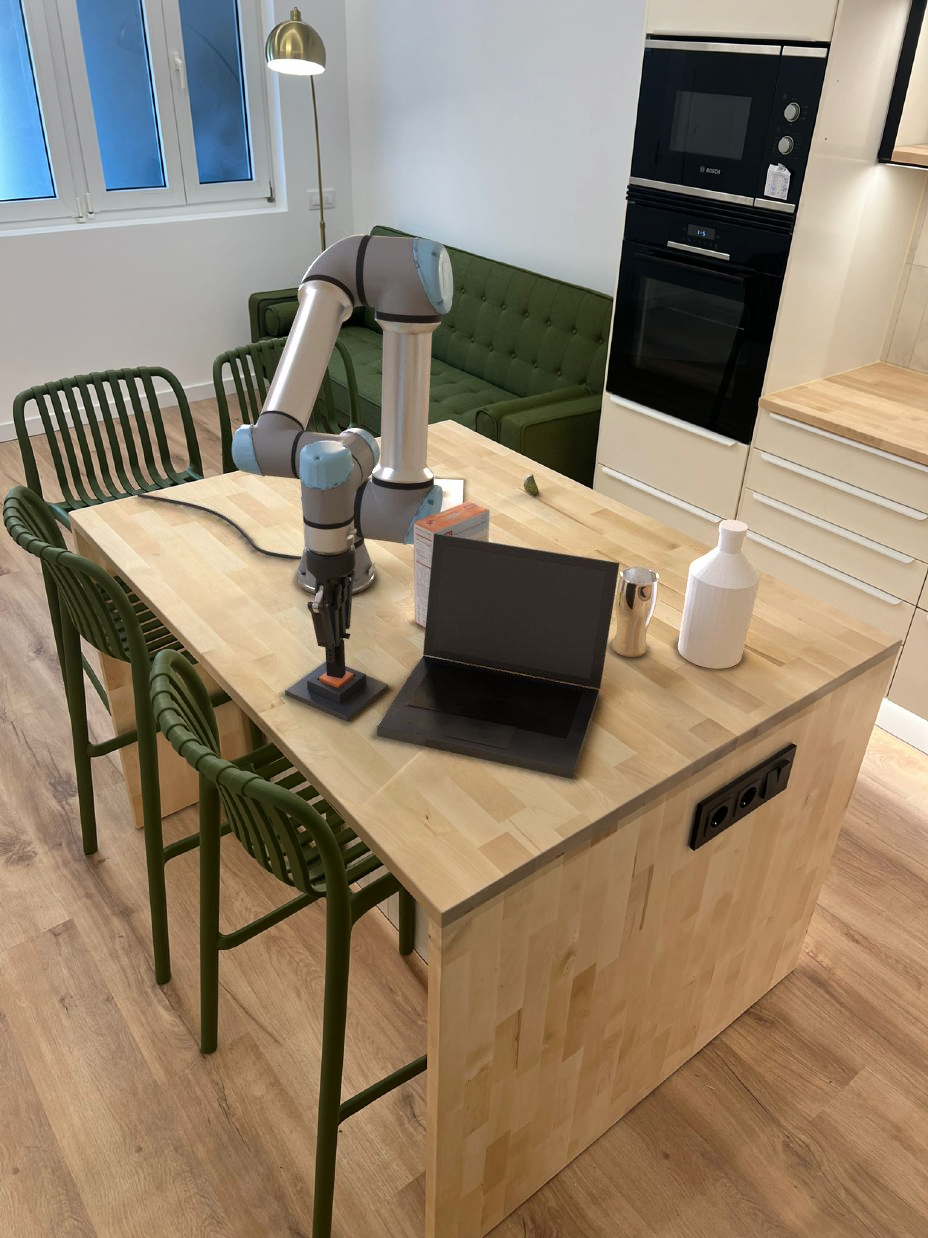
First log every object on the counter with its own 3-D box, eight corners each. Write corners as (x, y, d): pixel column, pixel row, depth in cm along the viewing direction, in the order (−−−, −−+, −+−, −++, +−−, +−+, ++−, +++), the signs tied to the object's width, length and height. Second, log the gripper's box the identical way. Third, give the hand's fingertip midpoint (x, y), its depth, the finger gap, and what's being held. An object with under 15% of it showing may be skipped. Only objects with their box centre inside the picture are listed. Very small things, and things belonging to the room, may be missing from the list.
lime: (531, 488, 231) (532, 469, 229) (545, 494, 228) (546, 475, 226) (518, 493, 229) (519, 473, 226) (532, 499, 226) (534, 480, 223)
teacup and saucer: (444, 498, 224) (445, 483, 222) (411, 497, 224) (411, 481, 222) (445, 484, 232) (446, 469, 230) (413, 483, 232) (413, 468, 230)
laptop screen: (619, 563, 149) (619, 562, 149) (433, 533, 156) (435, 533, 157) (599, 689, 155) (600, 688, 156) (422, 655, 162) (424, 653, 163)
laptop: (573, 779, 138) (574, 769, 137) (376, 736, 146) (376, 726, 145) (598, 698, 156) (599, 689, 155) (422, 663, 163) (422, 654, 162)
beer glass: (606, 638, 172) (615, 565, 165) (643, 637, 173) (654, 565, 165) (614, 659, 166) (624, 585, 159) (652, 658, 167) (664, 584, 159)
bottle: (756, 664, 166) (784, 537, 153) (696, 673, 163) (720, 544, 150) (722, 630, 176) (746, 507, 163) (664, 638, 173) (685, 514, 160)
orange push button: (285, 695, 154) (283, 680, 153) (327, 664, 162) (327, 650, 161) (347, 722, 148) (347, 707, 147) (388, 689, 157) (388, 674, 155)
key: (319, 686, 154) (319, 677, 153) (335, 674, 157) (334, 666, 156) (338, 694, 152) (338, 685, 151) (354, 682, 155) (353, 673, 154)
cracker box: (465, 597, 184) (468, 499, 173) (487, 609, 180) (492, 509, 169) (411, 622, 175) (412, 520, 165) (433, 635, 172) (435, 531, 161)
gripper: (335, 567, 135) (341, 701, 147) (369, 531, 146) (372, 658, 158) (287, 559, 137) (297, 692, 149) (325, 524, 148) (331, 650, 160)
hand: (336, 674), depth 153 cm, fingers closed
